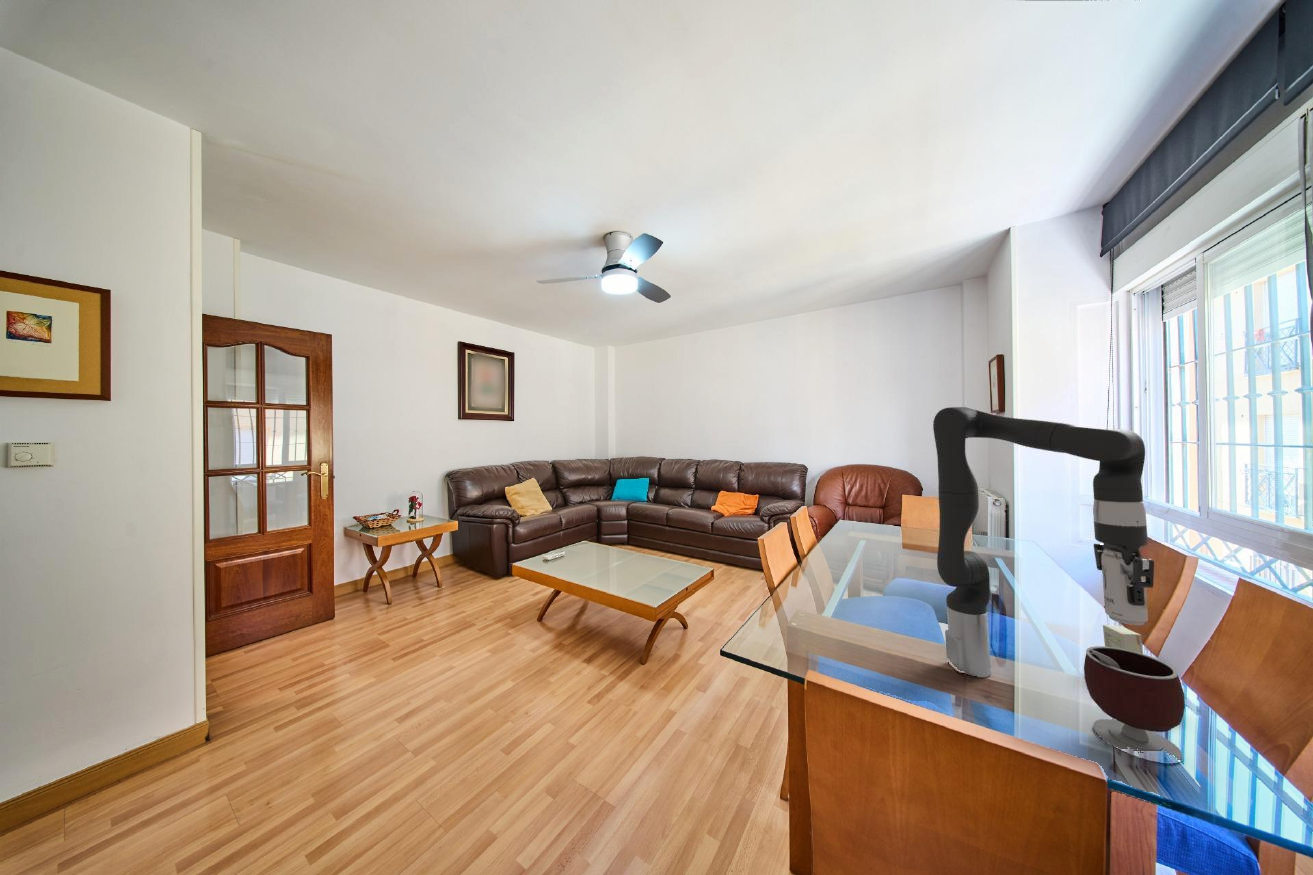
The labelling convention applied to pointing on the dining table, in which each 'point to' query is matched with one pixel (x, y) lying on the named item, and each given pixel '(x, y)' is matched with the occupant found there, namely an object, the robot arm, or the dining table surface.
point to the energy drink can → (1120, 591)
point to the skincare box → (1122, 638)
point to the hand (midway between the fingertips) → (1124, 598)
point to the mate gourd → (1134, 698)
